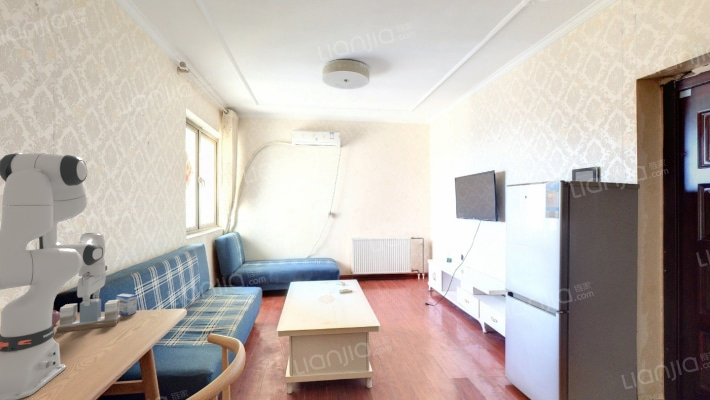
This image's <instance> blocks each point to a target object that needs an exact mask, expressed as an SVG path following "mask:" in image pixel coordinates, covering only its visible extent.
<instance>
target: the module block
mask: <svg viewBox="0 0 710 400" xmlns="http://www.w3.org/2000/svg"><path fill="white" fill-rule="evenodd" d="M90 301H91V304H90V305H89V306H84V301H83V300H82V301H81V302H80V303H79V319H80V323H82V322H91V321H98V320H99V319H100V318H101V317H102V298H98V299H93V298H90Z"/></svg>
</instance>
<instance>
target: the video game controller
mask: <svg viewBox="0 0 710 400" xmlns="http://www.w3.org/2000/svg"><path fill="white" fill-rule="evenodd" d="M58 322H60V311H57V310H55V309H53V312H52V324H53V325H54V326H55V325H56V324H57V323H58Z"/></svg>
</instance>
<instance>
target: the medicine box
mask: <svg viewBox="0 0 710 400" xmlns="http://www.w3.org/2000/svg"><path fill="white" fill-rule="evenodd" d="M137 298H138V294H130V293H120V294H117V295H116V296H115V300H119V315H125V316H130V315H132V314H133V315H134V314H135V313H137V312H136V311H137V309H138V308H137V307H138V305H137V304H138V303H137V302H138V299H137Z"/></svg>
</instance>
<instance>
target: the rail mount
mask: <svg viewBox="0 0 710 400" xmlns="http://www.w3.org/2000/svg"><path fill="white" fill-rule="evenodd" d="M59 312H60V320H59V324H58V325H57V328H56V330H55V331H56V333H60V332H71V331H78V330H87V329H96V328H97V329H98V328H103V327H105V328H106V327H111V326H112V327H113V326H117V325H118V324H119V323H120V321H121V320H122V315H121V314H119V300H116V299H112V300H111V299H110V300H107V302H105V303H104V316H101V318H100V319H99V320H98V321H91V322H82V323H80V318H79V319H78V303H69V304H68V303H67V304H65V305H63V306H61V307H60V309H59Z"/></svg>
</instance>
